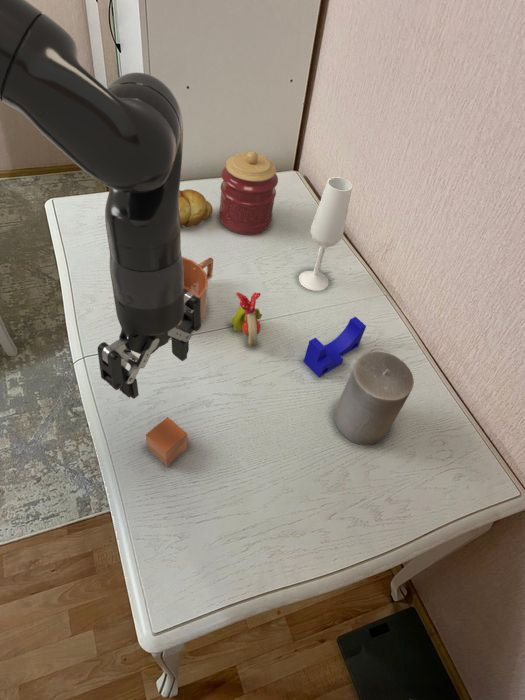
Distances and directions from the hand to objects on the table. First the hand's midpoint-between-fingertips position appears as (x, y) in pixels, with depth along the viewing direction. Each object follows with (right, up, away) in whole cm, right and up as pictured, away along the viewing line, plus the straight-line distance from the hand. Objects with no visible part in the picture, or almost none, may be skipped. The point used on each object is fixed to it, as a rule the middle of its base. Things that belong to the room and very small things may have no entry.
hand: (156, 374), depth 66 cm
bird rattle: (+11, +6, +33) cm, 35 cm away
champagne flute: (+25, +19, +46) cm, 56 cm away
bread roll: (-4, +34, +54) cm, 64 cm away
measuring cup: (-3, +13, +36) cm, 38 cm away
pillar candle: (+31, -10, +23) cm, 40 cm away
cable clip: (+28, +2, +32) cm, 42 cm away
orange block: (-1, -13, +14) cm, 19 cm away
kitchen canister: (+10, +35, +57) cm, 68 cm away
